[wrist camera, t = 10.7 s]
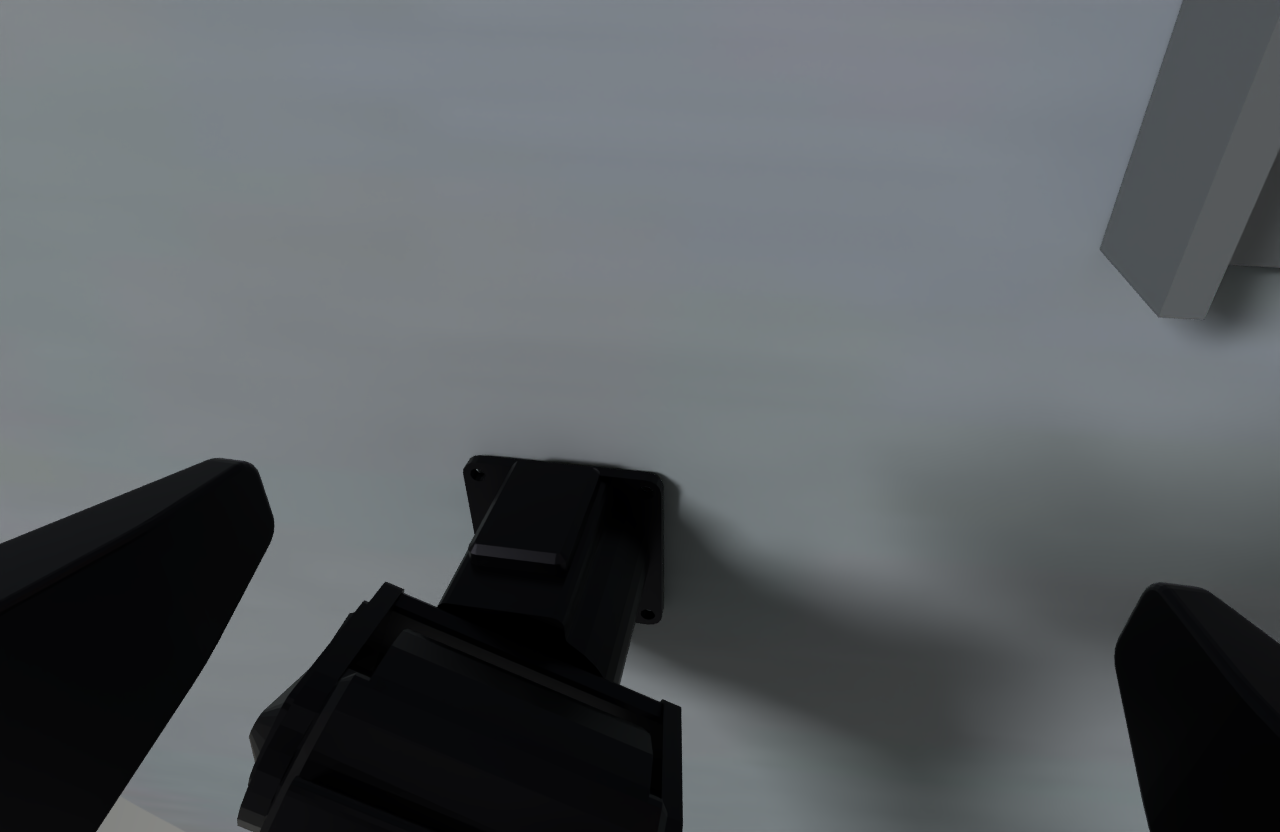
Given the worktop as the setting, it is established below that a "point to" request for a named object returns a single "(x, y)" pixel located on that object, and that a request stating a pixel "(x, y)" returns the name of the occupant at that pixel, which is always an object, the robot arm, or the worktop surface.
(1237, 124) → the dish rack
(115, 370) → the worktop surface
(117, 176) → the worktop surface
